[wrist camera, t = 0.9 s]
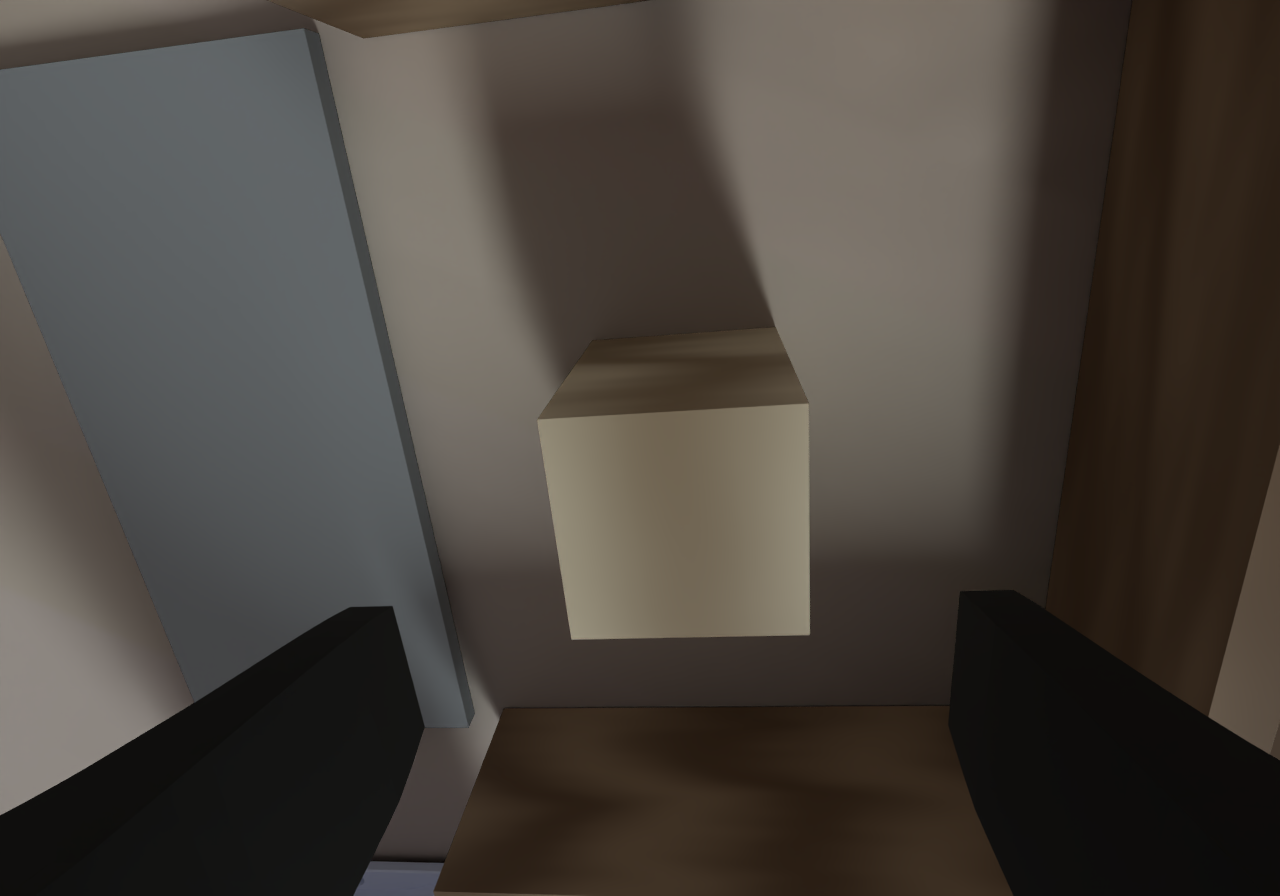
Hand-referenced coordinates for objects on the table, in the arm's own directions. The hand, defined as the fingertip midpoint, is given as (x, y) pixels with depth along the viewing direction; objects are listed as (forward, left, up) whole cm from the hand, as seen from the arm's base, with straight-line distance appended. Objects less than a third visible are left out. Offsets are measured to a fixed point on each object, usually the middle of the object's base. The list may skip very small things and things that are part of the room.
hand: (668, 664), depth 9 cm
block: (0, 0, -10) cm, 10 cm away
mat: (-12, 0, -10) cm, 15 cm away
